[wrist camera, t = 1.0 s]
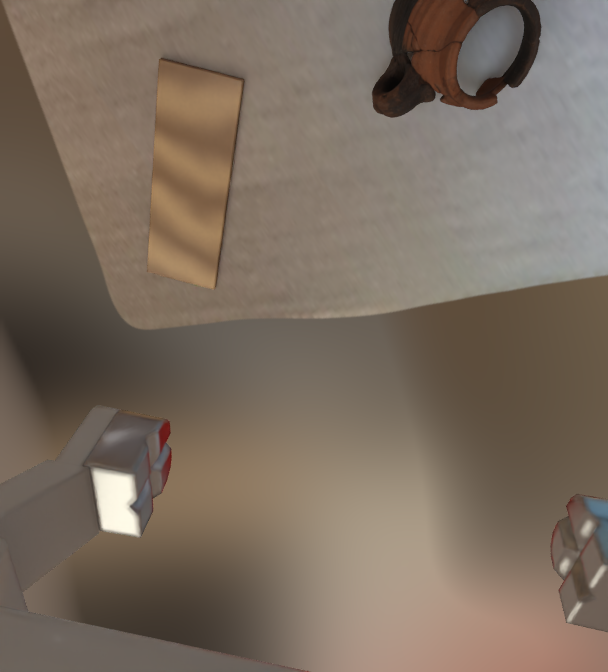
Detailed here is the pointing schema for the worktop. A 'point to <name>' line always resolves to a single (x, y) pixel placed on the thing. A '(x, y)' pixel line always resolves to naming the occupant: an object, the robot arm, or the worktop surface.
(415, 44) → the pottery mug
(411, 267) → the worktop surface
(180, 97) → the wooden board
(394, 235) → the worktop surface
